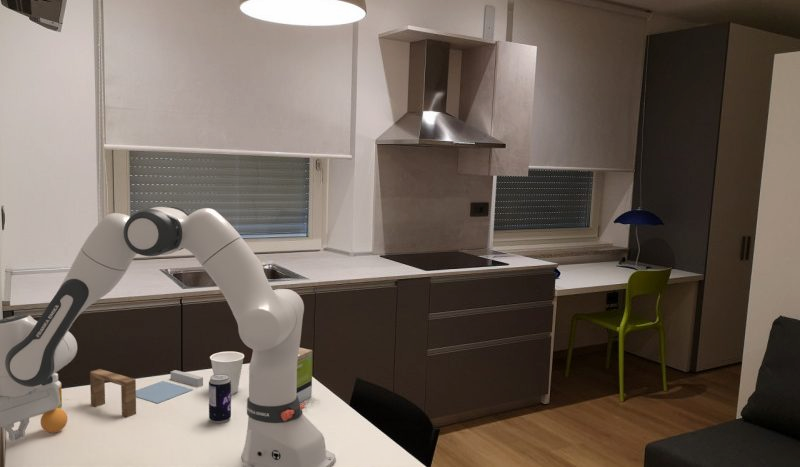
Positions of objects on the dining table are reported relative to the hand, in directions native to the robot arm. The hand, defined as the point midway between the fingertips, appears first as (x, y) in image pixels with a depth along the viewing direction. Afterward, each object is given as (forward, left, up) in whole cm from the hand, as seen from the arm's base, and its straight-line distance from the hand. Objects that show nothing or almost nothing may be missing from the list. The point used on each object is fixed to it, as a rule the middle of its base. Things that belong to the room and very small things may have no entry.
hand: (17, 438), depth 156 cm
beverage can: (-29, -37, -2) cm, 47 cm away
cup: (-16, -53, -2) cm, 56 cm away
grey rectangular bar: (0, -52, -2) cm, 52 cm away
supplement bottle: (+14, -17, -2) cm, 22 cm away
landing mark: (0, -42, -2) cm, 42 cm away
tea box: (-32, -59, -2) cm, 68 cm away
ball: (0, -9, +1) cm, 9 cm away
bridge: (0, -26, -2) cm, 26 cm away
